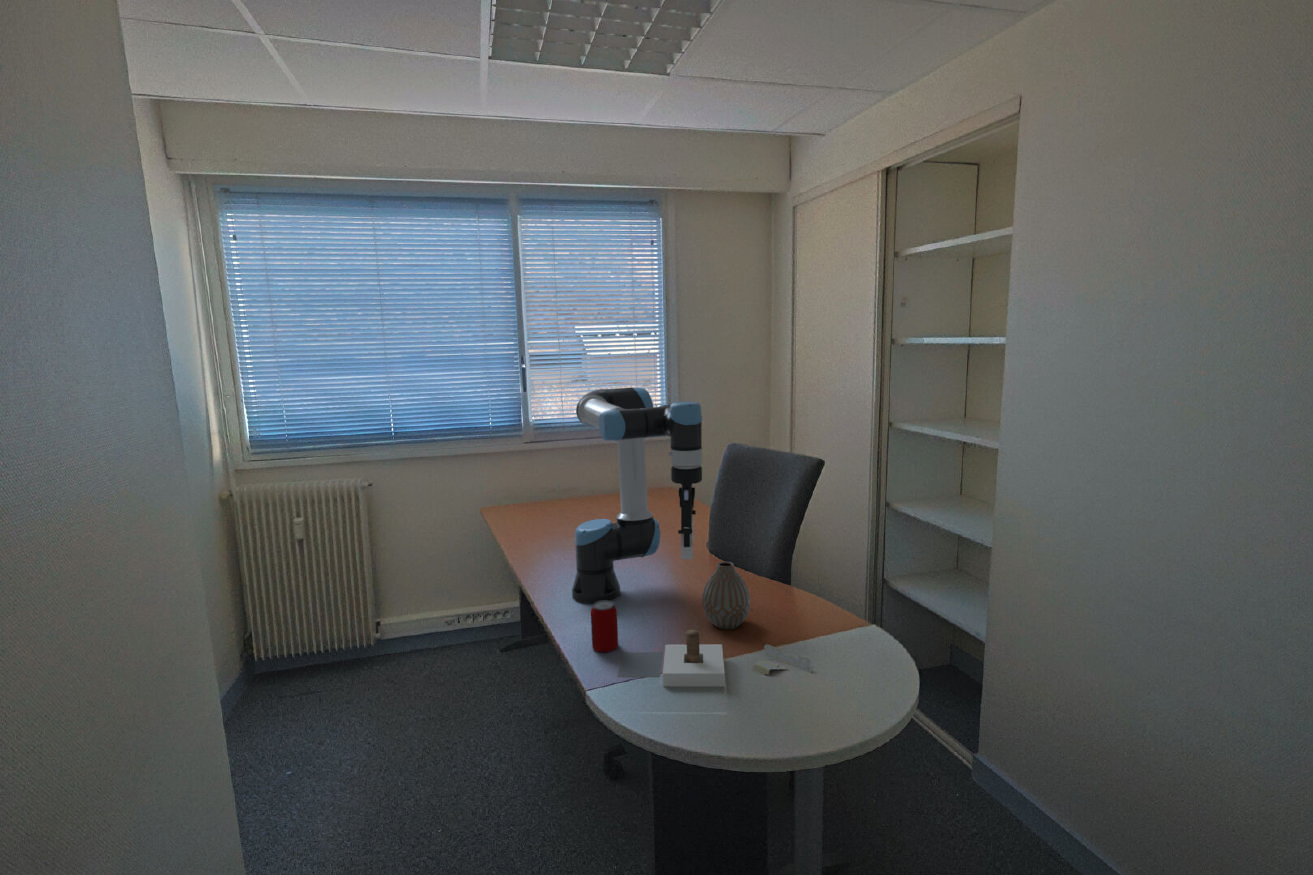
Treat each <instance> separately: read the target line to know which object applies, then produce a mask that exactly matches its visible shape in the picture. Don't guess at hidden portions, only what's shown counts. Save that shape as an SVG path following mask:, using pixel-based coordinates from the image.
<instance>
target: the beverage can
mask: <svg viewBox="0 0 1313 875" xmlns="http://www.w3.org/2000/svg"><path fill="white" fill-rule="evenodd" d="M617 610H618V609H617V607H616V606H615V604H614V602H613V601H612V600H611V601H607V600H603V601H598V602H595V603H594V604H592V607H591V609H590V627H591V629H590V630H591V646H592V649H593V650H594V651H596V652H599V653H610V652H612V651H614V650H616V649H618V647H619V630H618V628H619V627H618V611H617Z"/></svg>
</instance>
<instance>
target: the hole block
mask: <svg viewBox="0 0 1313 875" xmlns="http://www.w3.org/2000/svg"><path fill="white" fill-rule="evenodd" d="M664 646H665V649H664V656H663V658H664V659H663V667H662V686H663V687H715V688H716V687H721V688H722V687H726V684H725V682H726V678H725V663H724V652H723V651H724V650H723V644H705V643H704V644H700V643H699V653H700V663H687V644H665V645H664Z"/></svg>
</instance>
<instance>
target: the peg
mask: <svg viewBox="0 0 1313 875" xmlns="http://www.w3.org/2000/svg"><path fill="white" fill-rule="evenodd" d="M685 633H686V634H685V636H686V637H685V638H686V645H687V663H700V653H699V644H700V632H699V630H697V629H689V630H687V631H686V632H685Z"/></svg>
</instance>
